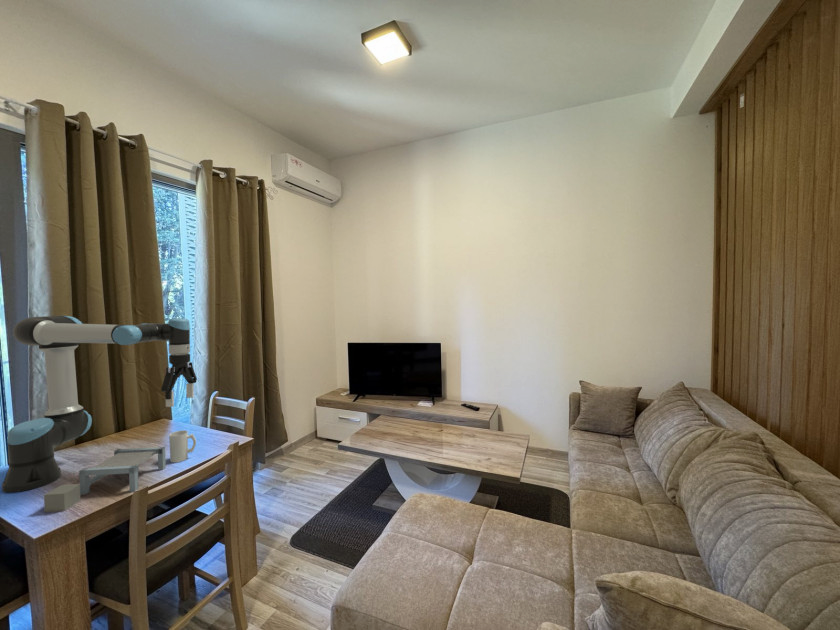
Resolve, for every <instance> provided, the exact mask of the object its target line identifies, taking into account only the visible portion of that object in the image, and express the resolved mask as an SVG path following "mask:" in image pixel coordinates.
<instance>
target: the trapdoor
mask: <svg viewBox="0 0 840 630" xmlns="http://www.w3.org/2000/svg"><path fill="white" fill-rule="evenodd" d="M154 455H157V454H156V451H139V452H119V453H118V454H116V455H112V456H110V457H109V458H107V459H106V460H103V461H102V462H100V463H98V464H96V465H95V466H93V467H92V468H99V467H117V466H135V465H138V466H140V465H142V463H144V462H146V461H147V460H149V459H150V458H151V457H153V456H154Z"/></svg>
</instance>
